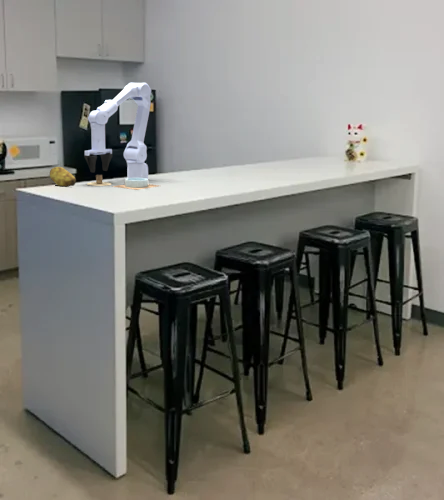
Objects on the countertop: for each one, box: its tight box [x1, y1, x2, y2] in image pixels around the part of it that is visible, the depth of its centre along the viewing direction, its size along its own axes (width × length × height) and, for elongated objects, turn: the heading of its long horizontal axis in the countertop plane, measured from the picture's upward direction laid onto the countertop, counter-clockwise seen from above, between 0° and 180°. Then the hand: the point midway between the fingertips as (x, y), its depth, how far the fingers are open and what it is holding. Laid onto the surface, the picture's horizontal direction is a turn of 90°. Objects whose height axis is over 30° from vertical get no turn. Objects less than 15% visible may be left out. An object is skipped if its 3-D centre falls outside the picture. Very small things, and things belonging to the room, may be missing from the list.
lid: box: [86, 174, 113, 187], centre depth 271 cm, size 10×10×4 cm
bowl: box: [124, 177, 149, 188], centre depth 267 cm, size 10×10×3 cm
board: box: [111, 183, 160, 191], centre depth 268 cm, size 16×14×1 cm
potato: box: [49, 166, 77, 187], centre depth 269 cm, size 8×13×8 cm, turn 38°
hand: (98, 171), depth 270 cm, fingers open, 7 cm apart
